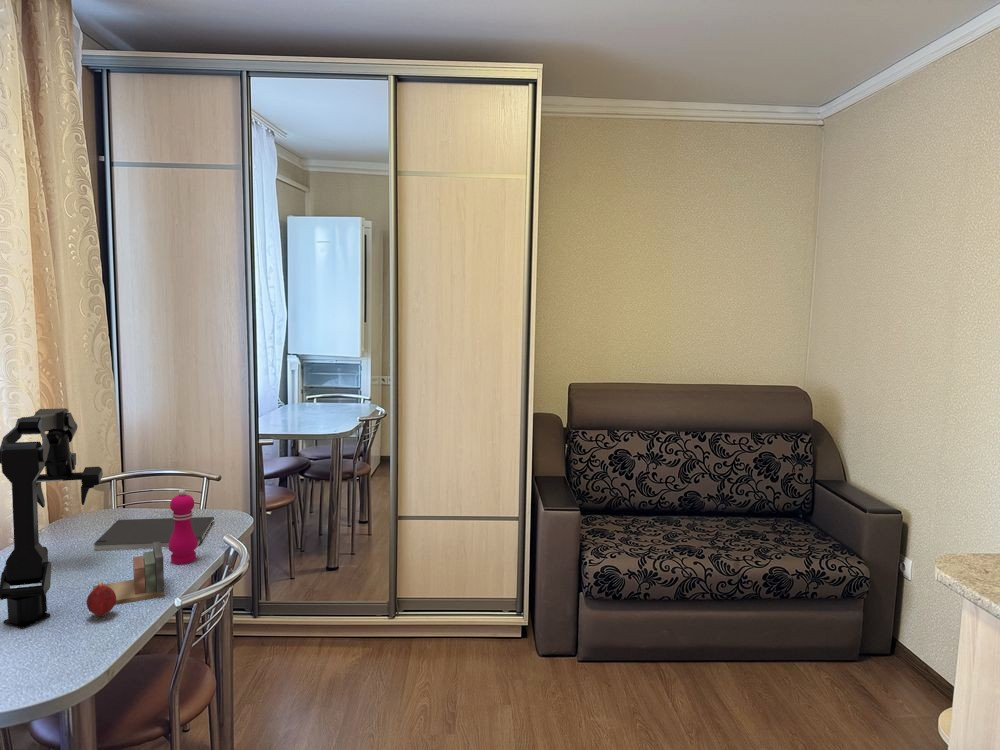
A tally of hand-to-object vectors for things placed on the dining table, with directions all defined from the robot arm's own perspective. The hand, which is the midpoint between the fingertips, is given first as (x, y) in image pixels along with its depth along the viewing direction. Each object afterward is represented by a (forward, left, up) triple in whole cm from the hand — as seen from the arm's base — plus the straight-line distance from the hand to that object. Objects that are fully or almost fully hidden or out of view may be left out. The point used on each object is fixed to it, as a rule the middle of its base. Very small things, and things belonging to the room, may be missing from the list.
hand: (63, 505), depth 184 cm
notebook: (+25, -6, -16) cm, 30 cm away
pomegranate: (-18, -35, -16) cm, 43 cm away
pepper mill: (+14, -27, -16) cm, 34 cm away
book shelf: (-7, -31, -15) cm, 35 cm away
